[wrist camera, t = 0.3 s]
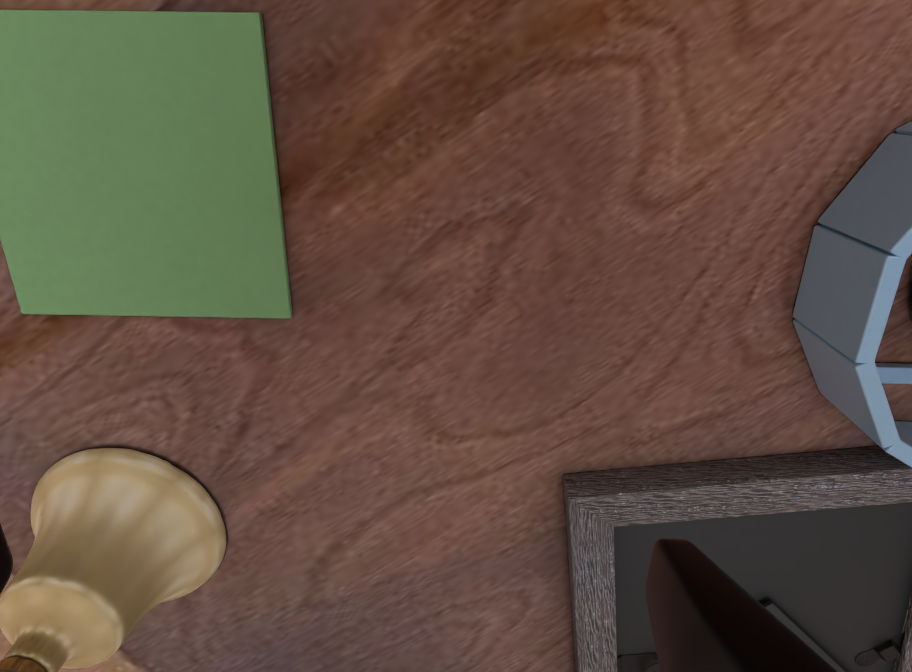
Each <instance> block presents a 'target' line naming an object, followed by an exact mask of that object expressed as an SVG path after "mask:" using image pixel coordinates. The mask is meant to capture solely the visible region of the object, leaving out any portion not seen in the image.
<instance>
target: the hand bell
mask: <svg viewBox="0 0 912 672" xmlns="http://www.w3.org/2000/svg"><path fill="white" fill-rule="evenodd" d="M31 524H32V529H33V533H34V536H35V540H34V543H33V546H32V548H31V550H30V552H29V554H28V556H27V558H26V560H25V561H24V563H23V565H22V567H21V568H20V570H19V571H18V573H17V574H16V576H15V577H14V579H13V580H12V582H11V583H10V584H9V586H8V587H7V588H6V590H5V591H4V593H3V594H2V596H1V598H0V628H1V630H2V632H3V634H4V636H5V637H6V639H7V640H8V641H9V642H10V643H11V644H12V645H13V646H12V647H11V649H10V650H9V651H8V652H7V654H6V656H5V657H4V658H3V660H2V661H0V672H58V670H59V669H60V668H70V669H75V668H85V667H90V666H94V665H96V664H99V663H101V662H103V661H105V660H106V659H108V658H109V657H110V656H111V655H113V654H114V653H115V652H116V651H117V650H118V649H119V648H120V646H121V645H122V644H123V642H124V641H125V640H126V638H127V637H128V636H129V634H130V633H131V632H132V631H133V629H134V628H135V627H136V626H137V624H138V623H139V622H140V621H141V620H142V619H143V617H144V616H145V615H146V614H147V613H148V612H149V611H150V610H151V609H153V608H154V607H155V606H156V605H157V604H159V603H160V602H166V601H170V600H173V599H177V598H179V597H182V596H184V595H187V594H189V593H190V592H192V591H194V590H195V589H197V588H198V587H200V586H201V585H203V584H204V583H205V582H206V581H208V580H209V579H210V578H211V577H212V576H213V574H214V573H215V572H216V571H217V569H218V568H219V566H220V564H221V562H222V559H223V557H224V553H225V549H226V531H225V526H224V523H223V519H222V517H221V513H220V511H219V509H218V507H217V506H216V504H215V502H214V501H213V499H212V498H211V497H210V495H209V494H208V493H207V491H206V490H205V489H204V488H203V487H202V486H201V485H200V484H199V483H198V482H197V481H195V480H194V479H193V478H192V477H191V476H189V475H188V474H187V473H185V472H183V471H182V470H180V469H179V468H177V467H175V466H173V465H172V464H170V463H169V462H167V461H164V460H162V459H160V458H158V457H155V456H152V455H150V454H145V453H142V452H139V451H135V450H131V449H122V448H98V449H88V450H84V451H80V452H77V453H74V454H72V455H69V456H67V457H65V458H63V459H61V460H60V461H58V462H57V463H55V464H54V465H53V466H51V467H50V468H49V469H48V470H47V471H46V472H45V473H44V475H43V476H42V477H41V479H40V480H39V482H38V484H37V486H36V488H35V491H34V494H33V498H32V505H31Z"/></svg>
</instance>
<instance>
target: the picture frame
mask: <svg viewBox="0 0 912 672" xmlns="http://www.w3.org/2000/svg"><path fill="white" fill-rule="evenodd" d="M563 483H564V499H565V515H566V531H567V547H568V563H569V579H570V595H571V611H572V627H573V643H574V659H575V672H660V668H659V663H658V658H657V653H656V647H655V642H654V637H653V632H652V627H651V622H650V617H649V612H648V607H647V601H646V589H645V588H646V580H647V575H648V570H649V566H650V561H651V556H652V552H653V547H654V544H655V542H656V541H657V540H658V539H660V538H672V539H686V540H688V541H690V542H691V543H693V544H694V545H695V546H696V547H697V548H698V549H700V550H701V551H702V552H703V553H704V554H705V555H706V556H707V557H709V558H710V559H711V560H712V561H713V562H714V563H715V564H717V565H718V566H719V567H720V568H721V569H722V570H723V571H724V572H726V573H727V574H728V575H729V576H730V577H731V578H732V579H733V580H735V581H736V582H737V583H738V584H739V585H740V586H741V587H743V588H744V589H745V590H746V591H747V592H748V593H749V594H750V595H752V596H753V597H754V598H755V599H756V600H757V601H758V602H759V603H761V604H762V605H763V606H764V607H765V608H766V609H767V610H769V611H770V612H771V613H772V614H773V615H774V616H775V617H776V618H778V619H779V620H780V621H781V622H782V623H783V624H784V625H786V626H787V627H788V628H789V629H790V630H791V631H792V632H793V633H795V634H796V635H797V636H798V637H799V638H800V639H801V640H802V641H804V642H805V643H806V644H807V645H808V646H809V647H810V648H812V649H813V650H814V651H815V652H816V653H817V654H818V655H819V656H821V657H822V658H823V659H824V660H825V661H826V662H827V663H828V664H830V665H831V666H832V667H833V668H834V669H835V670H836V671H838V672H912V467H910V466H908V465H907V464H905V463H903V462H902V461H900V460H898V459H897V458H895V457H893V456H892V455H890V454H888V453H887V452H885V451H884V450H883V449H882V448H881V447H880V446H874V447H863V448H852V449H841V450H829V451H818V452H807V453H796V454H784V455H773V456H762V457H751V458H739V459H728V460H717V461H706V462H694V463H683V464H672V465H660V466H649V467H638V468H627V469H615V470H604V471H593V472H582V473H570V474H563Z"/></svg>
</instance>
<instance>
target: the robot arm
mask: <svg viewBox="0 0 912 672" xmlns="http://www.w3.org/2000/svg"><path fill="white" fill-rule="evenodd" d="M12 567H13V558H12V555H11V552H10V549H9V546H8V544H7V541H6V538H5V535H4V532H3V530H2V527H1V524H0V594H1V592H2V590H3V588H4V587H5V585H6V583H7V581H8V579H9V577H10V575H11V572H12ZM645 589H646V601H647V607H648V612H649V617H650V622H651V627H652V632H653V637H654V642H655V647H656V653H657V658H658V663H659V668H660V672H838V671H836V670H835V669H834V668H833V667H832V666H831V665H830V664H828V663H827V662H826V661H825V660H824V659H823V658H822V657H821V656H819V655H818V654H817V653H816V652H815V651H814V650H813V649H812V648H810V647H809V646H808V645H807V644H806V643H805V642H804V641H802V640H801V639H800V638H799V637H798V636H797V635H796V634H795V633H793V632H792V631H791V630H790V629H789V628H788V627H787V626H786V625H784V624H783V623H782V622H781V621H780V620H779V619H778V618H776V617H775V616H774V615H773V614H772V613H771V612H770V611H769V610H767V609H766V608H765V607H764V606H763V605H762V604H761V603H759V602H758V601H757V600H756V599H755V598H754V597H753V596H752V595H750V594H749V593H748V592H747V591H746V590H745V589H744V588H743V587H741V586H740V585H739V584H738V583H737V582H736V581H735V580H733V579H732V578H731V577H730V576H729V575H728V574H727V573H726V572H724V571H723V570H722V569H721V568H720V567H719V566H718V565H717V564H715V563H714V562H713V561H712V560H711V559H710V558H709V557H707V556H706V555H705V554H704V553H703V552H702V551H701V550H700V549H698V548H697V547H696V546H695V545H694V544H693V543H691V542H690V541H688V540H686V539H672V538H660V539H658V540H657V541H656V542H655V544H654V547H653V552H652V556H651V561H650V566H649V570H648V575H647V580H646V588H645Z"/></svg>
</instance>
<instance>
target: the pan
mask: <svg viewBox="0 0 912 672" xmlns="http://www.w3.org/2000/svg"><path fill="white" fill-rule="evenodd" d="M895 131H896V134H895V133H891V134H889V136H888V137H887V138H886V139H885V140H884V142H883V143H882V144H881V145H880V146H879V148H878V149H877V150H876V151H875V152H874V153H873V155H872V156H871V157H870V158H869V159H868V161H867V162H866V163H865V164H864V165H863V167H862V168H861V169H860V170H859V171H858V173H857V174H856V175H855V176H854V177H853V179H852V180H851V181H850V182H849V183H848V185H847V186H846V187H845V188H844V189H843V191H842V192H841V193H840V194H839V195H838V196H837V198H836V199H835V200H834V201H833V202H832V204H831V205H830V206H829V207H828V208H827V210H826V211H825V212H824V213H823V214H822V216H821V217H820V218H819V219H818V223H819V224H821V225H817V226H815V227H814V230H813V234H812V238H811V242H810V246H809V250H808V254H807V258H806V263H805V267H804V271H803V275H802V279H801V283H800V287H799V291H798V295H797V299H796V303H795V307H794V312H793V317H794V318H795V319H794V320H793V323H794V326H795V329H796V331H797V334H798V337H799V339H800V342H801V345H802V347H803V350H804V353H805V355H806V358H807V361H808V363H809V366H810V369H811V371H812V374H813V377H814V379H815V382H816V385H817V387H818V390H819V391H820V392H821V393H822V395H823V396H824V397H825V398H826V399H827V400H828V401H829V402H831V403H832V404H833V405H834V406H835V407H836V408H837V409H838V410H840V411H841V412H842V413H843V414H844V415H845V416H846V417H847V418H848V419H850V420H851V421H852V422H853V423H854V424H855V425H856V426H857V427H859V428H860V429H861V430H862V431H863V432H864V433H865V434H866V435H867V436H869V437H870V438H871V439H872V440H873V441H874V442H875V443H876V444H877V445H879V446H880V447H881V448H882V449H883V450H884V451H885V452H887V453H888V454H890V455H892V456H893V457H895V458H897V459H898V460H900V461H902V462H903V463H905V464H907V465H908V466H910V467H912V422H907V421H894V419H893V416H892V413H891V410H890V406H889V403H888V400H887V397H886V394H885V391H884V388H883V385H882V384H912V364H898V363H875V359H876V355H877V352H878V349H879V346H880V343H881V339H882V336H883V333H884V330H885V327H886V323H887V320H888V317H889V314H890V310H891V307H892V304H893V301H894V298H895V294H896V291H897V288H898V285H899V282H900V278H901V275H902V272H903V269H904V266H905V262H906V259H907V258H908V257H909V256H910V255H911V254H912V121H910V122H908V123H906V124H904V125H902V126H900V127H898V128H897V129H896V130H895Z"/></svg>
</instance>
